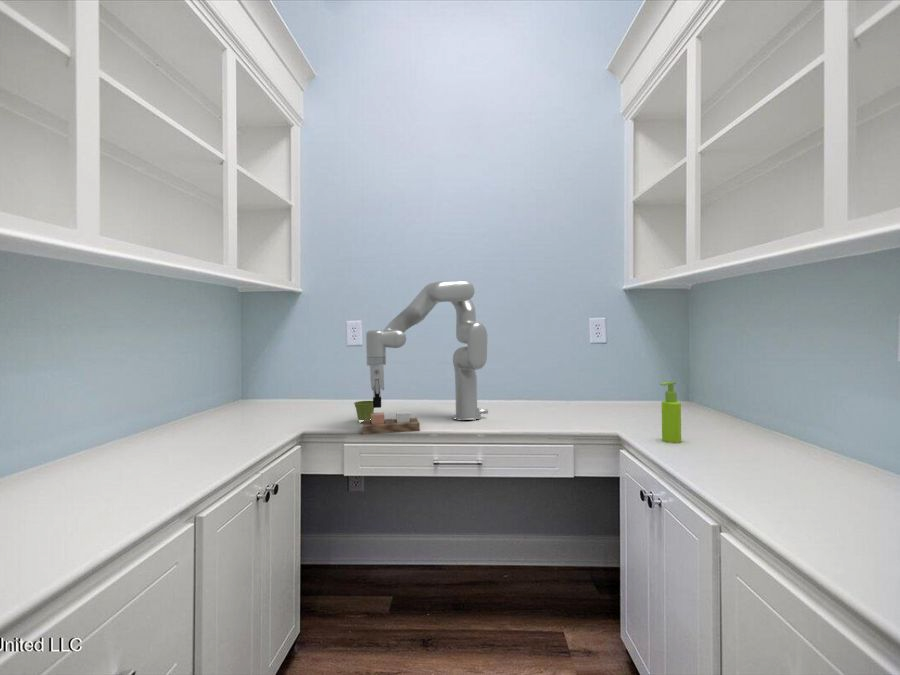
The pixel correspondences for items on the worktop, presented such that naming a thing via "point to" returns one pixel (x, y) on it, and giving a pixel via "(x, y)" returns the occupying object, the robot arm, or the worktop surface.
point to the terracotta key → (377, 418)
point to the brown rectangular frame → (390, 426)
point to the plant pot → (364, 409)
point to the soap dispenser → (671, 415)
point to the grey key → (402, 417)
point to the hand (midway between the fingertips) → (377, 407)
